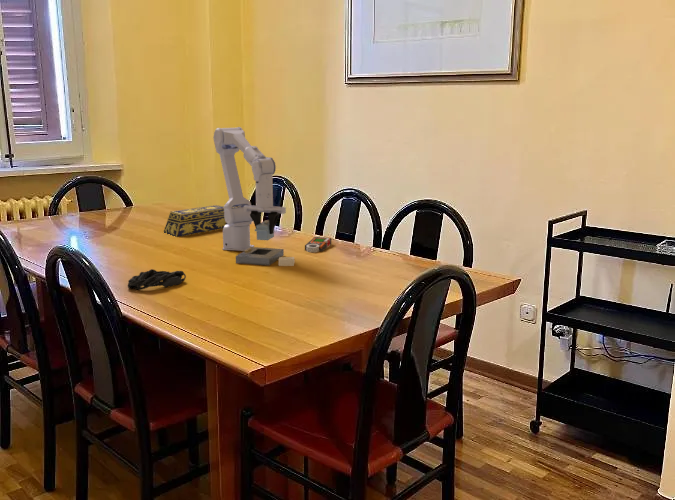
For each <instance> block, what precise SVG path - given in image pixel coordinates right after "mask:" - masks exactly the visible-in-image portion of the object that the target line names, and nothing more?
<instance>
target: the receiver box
mask: <svg viewBox="0 0 675 500" xmlns="http://www.w3.org/2000/svg"><path fill="white" fill-rule="evenodd" d="M278 266H279V267H294V266H295V256H283V257H279V259H278Z"/></svg>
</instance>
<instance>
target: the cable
mask: <svg viewBox="0 0 675 500" xmlns="http://www.w3.org/2000/svg"><path fill="white" fill-rule="evenodd" d="M186 279H187V275H186V273H185V272H184V271H183V270H175V271H171V272H170V271H167V270H166V271H164V270H160V271H157V270H156V269H153V268H152V269H149V270H146V271H141V272H140V273H139V274H138V275H133V276H132V277H131V278H130V279H129V280H128V283H127V288H129V289H132V288H131V287H133V289H134V288H135V289H134V290H136V289H138V290H137V291H141V290H144V289H147V288H151V287H161V286H163V287H164V288H168V287H167V286H170V287H174V286H173V285H175V286H179V285H180V284H181V283H182V282H184V281H185V280H186Z"/></svg>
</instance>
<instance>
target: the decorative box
mask: <svg viewBox="0 0 675 500" xmlns="http://www.w3.org/2000/svg"><path fill="white" fill-rule="evenodd" d="M226 224H227V223H226V221H225V218H224V205H217V204H214V205H208V206H201V207H200V206H199V207H194V208H186V209H179V210H173V211H170V212H169V214H168V217H167V220H166V223H165V227H164V230H163V232H164V233H167V234H166V235H168V234H170V235H169V236H171V235H172V236H171V237H174V236H175V238H180V237H179V236H181V237H185V235H186V236H191V234H192V235H196V234H195V233H198V234H201V233H200V232H204V233H207V232H206V231H209V232H213V231H212V230H215V231H218V230H217V229H221V230H223V228H224V226H225V225H226ZM164 233H163V234H164Z"/></svg>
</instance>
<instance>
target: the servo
mask: <svg viewBox="0 0 675 500" xmlns="http://www.w3.org/2000/svg"><path fill="white" fill-rule="evenodd" d="M254 232H256V241H269V240H271V239H273V238H274V237H275V232H274V233H273V234H270V232H269V219H267V220H264V221H261V223H260V224H258V225H256V227H255V229H254Z"/></svg>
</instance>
